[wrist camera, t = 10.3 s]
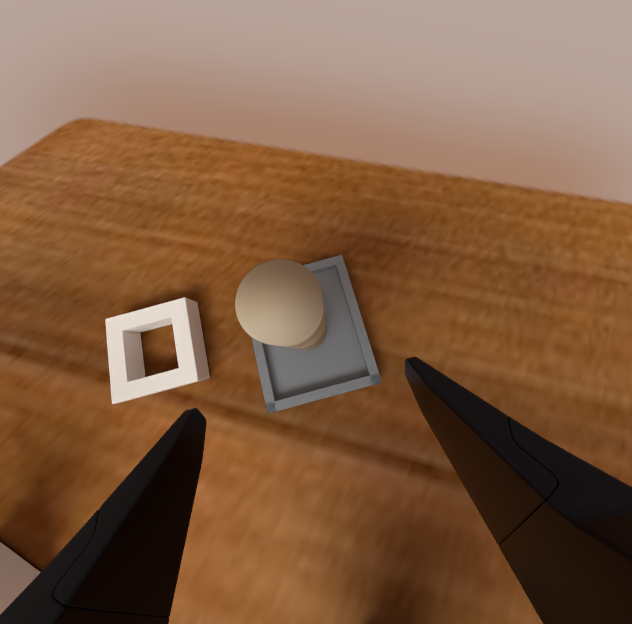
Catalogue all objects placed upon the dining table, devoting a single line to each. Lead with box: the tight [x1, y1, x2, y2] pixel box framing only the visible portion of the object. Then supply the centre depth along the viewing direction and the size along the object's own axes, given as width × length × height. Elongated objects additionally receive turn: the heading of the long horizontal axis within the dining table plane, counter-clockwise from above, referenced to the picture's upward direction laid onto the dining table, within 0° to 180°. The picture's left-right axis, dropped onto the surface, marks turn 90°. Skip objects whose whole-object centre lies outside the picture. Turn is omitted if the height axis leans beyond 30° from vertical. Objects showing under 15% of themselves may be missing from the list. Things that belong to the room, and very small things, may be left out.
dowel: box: [235, 259, 327, 350], centre depth 15 cm, size 4×4×12 cm
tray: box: [252, 255, 382, 413], centre depth 21 cm, size 12×10×2 cm
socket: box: [105, 297, 210, 404], centre depth 21 cm, size 8×8×2 cm
